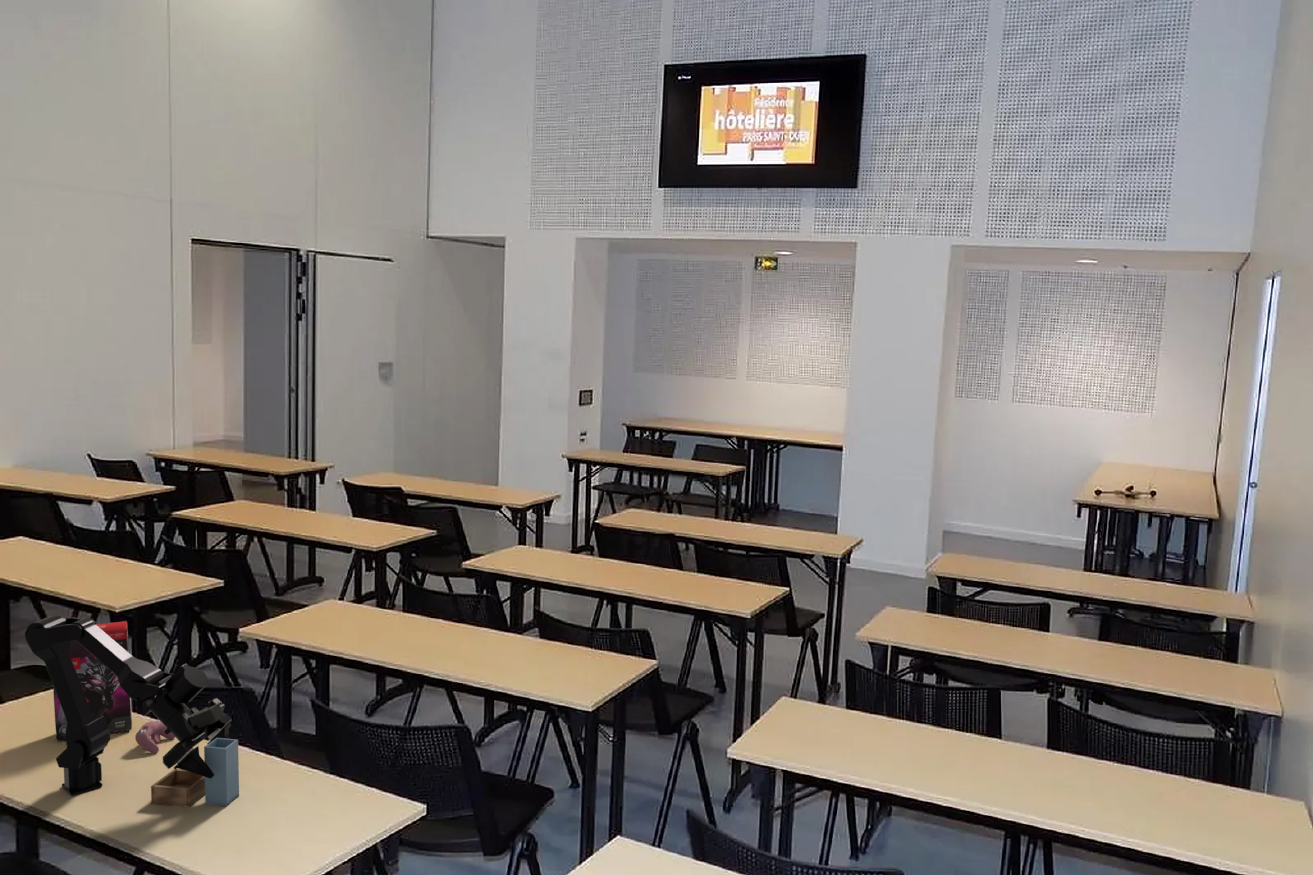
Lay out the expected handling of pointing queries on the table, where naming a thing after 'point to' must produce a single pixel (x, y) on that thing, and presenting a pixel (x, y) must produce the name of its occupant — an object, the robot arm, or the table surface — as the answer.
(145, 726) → the video game controller
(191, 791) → the walnut crate
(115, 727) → the graphics card box
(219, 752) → the tall slate-blue crate
